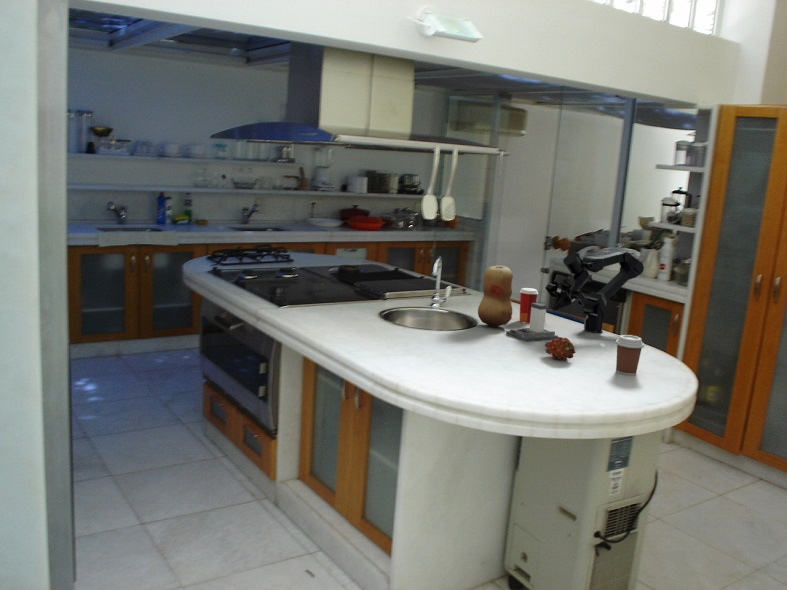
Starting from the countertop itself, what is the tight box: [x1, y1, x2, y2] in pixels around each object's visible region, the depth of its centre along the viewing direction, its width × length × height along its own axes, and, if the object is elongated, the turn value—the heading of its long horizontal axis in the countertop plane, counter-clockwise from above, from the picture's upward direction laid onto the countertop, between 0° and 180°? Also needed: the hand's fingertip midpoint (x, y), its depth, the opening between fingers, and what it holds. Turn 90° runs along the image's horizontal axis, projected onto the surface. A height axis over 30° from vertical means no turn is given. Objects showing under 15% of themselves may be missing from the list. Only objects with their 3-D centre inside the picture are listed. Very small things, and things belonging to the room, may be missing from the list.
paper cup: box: [519, 287, 539, 324], centre depth 308 cm, size 8×8×14 cm
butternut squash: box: [477, 265, 514, 328], centre depth 293 cm, size 14×13×25 cm
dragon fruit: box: [544, 336, 576, 362], centre depth 252 cm, size 8×8×12 cm
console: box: [505, 327, 559, 343], centre depth 282 cm, size 16×12×2 cm
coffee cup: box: [615, 334, 645, 376], centre depth 240 cm, size 9×9×12 cm
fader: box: [526, 302, 548, 333], centre depth 282 cm, size 6×5×12 cm
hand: (553, 310), depth 286 cm, fingers closed
